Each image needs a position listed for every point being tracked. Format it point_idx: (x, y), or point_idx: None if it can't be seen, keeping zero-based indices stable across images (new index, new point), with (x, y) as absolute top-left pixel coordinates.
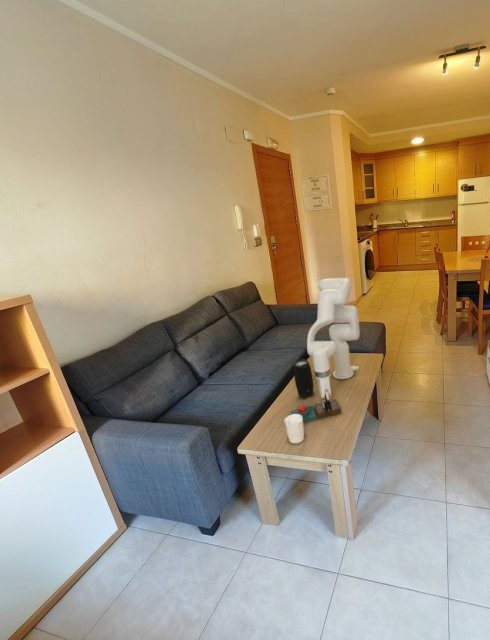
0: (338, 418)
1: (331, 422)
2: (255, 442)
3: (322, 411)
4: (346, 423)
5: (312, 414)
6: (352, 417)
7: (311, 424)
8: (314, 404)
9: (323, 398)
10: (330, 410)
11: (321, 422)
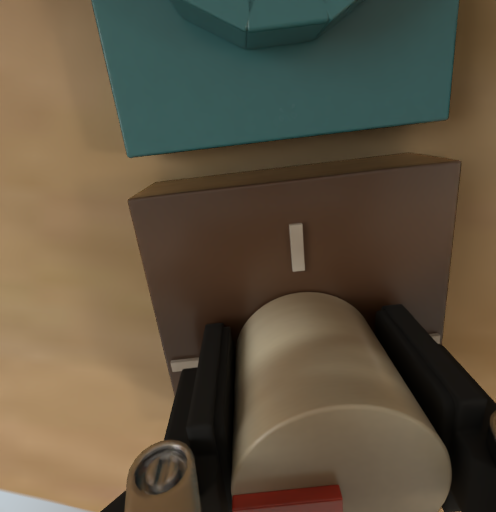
0: (121, 390)
1: (57, 321)
2: None
3: (174, 276)
4: (25, 441)
5: (171, 96)
6: (115, 491)
7: (37, 64)
8: (448, 161)
9: (343, 446)
10: (171, 381)
11: (70, 211)
